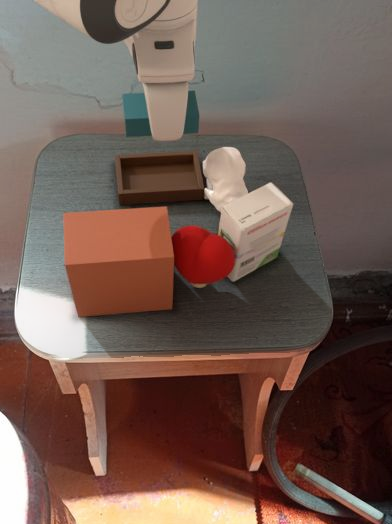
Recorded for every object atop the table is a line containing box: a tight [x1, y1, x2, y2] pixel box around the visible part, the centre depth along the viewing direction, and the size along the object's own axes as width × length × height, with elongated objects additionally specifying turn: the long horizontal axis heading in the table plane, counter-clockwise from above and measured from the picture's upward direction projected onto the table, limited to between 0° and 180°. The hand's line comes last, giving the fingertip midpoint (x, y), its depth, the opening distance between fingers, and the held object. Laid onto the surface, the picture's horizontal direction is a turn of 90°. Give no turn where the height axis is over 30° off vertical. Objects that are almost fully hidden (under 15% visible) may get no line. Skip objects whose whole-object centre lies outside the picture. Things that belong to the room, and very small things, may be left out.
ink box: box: [217, 182, 294, 283], centre depth 78 cm, size 8×5×12 cm, turn 125°
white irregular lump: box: [202, 146, 249, 225], centre depth 84 cm, size 6×8×12 cm
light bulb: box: [171, 224, 235, 289], centre depth 76 cm, size 9×7×10 cm
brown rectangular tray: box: [114, 150, 205, 206], centre depth 88 cm, size 13×8×2 cm, turn 97°
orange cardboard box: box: [62, 206, 175, 318], centre depth 74 cm, size 13×8×12 cm, turn 97°
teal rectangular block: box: [121, 90, 200, 138], centre depth 77 cm, size 10×5×3 cm, turn 97°
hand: (160, 119), depth 78 cm, fingers closed on teal rectangular block, 5 cm apart
